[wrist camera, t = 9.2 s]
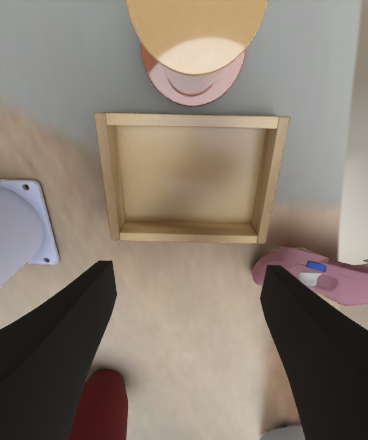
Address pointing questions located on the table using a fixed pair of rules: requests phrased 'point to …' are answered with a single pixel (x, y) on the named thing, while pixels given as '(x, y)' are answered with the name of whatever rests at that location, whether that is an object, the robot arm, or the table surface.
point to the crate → (190, 175)
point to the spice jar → (195, 35)
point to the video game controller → (319, 274)
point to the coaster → (191, 95)
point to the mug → (101, 409)
